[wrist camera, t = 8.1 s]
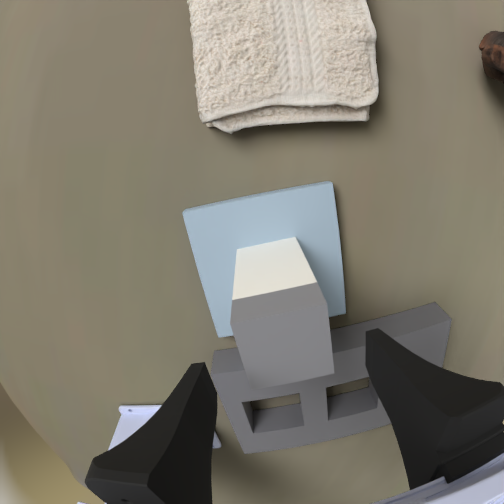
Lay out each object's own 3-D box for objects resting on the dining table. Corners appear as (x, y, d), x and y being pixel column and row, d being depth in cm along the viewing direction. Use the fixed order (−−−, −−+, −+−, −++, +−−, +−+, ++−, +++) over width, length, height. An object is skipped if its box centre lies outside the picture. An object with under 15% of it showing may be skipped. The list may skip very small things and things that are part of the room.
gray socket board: (244, 432, 29) (244, 453, 26) (214, 350, 25) (210, 374, 22) (420, 391, 28) (430, 409, 25) (435, 302, 24) (451, 318, 21)
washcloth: (206, 139, 20) (199, 138, 17) (182, -58, 14) (175, -77, 11) (374, 123, 19) (393, 122, 16) (329, -66, 13) (338, -85, 10)
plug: (250, 300, 22) (251, 389, 14) (236, 249, 21) (230, 323, 12) (304, 288, 22) (334, 373, 13) (295, 236, 21) (326, 303, 12)
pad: (219, 330, 24) (218, 337, 23) (185, 209, 21) (182, 212, 20) (342, 306, 24) (345, 313, 23) (328, 181, 20) (332, 182, 19)
